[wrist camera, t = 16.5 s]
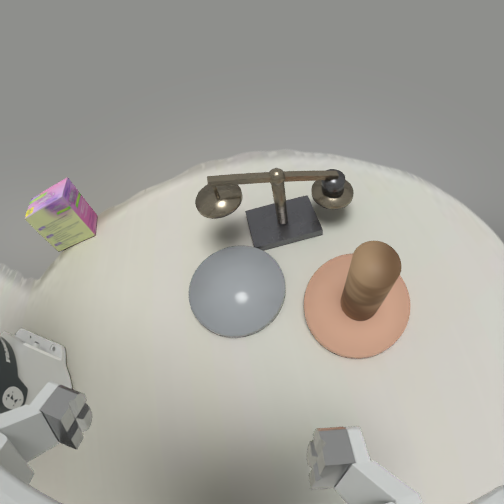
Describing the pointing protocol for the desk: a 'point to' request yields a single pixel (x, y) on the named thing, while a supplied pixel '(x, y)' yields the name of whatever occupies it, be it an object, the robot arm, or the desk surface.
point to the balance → (276, 203)
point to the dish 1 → (237, 291)
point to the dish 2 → (344, 328)
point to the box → (62, 215)
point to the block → (369, 279)
